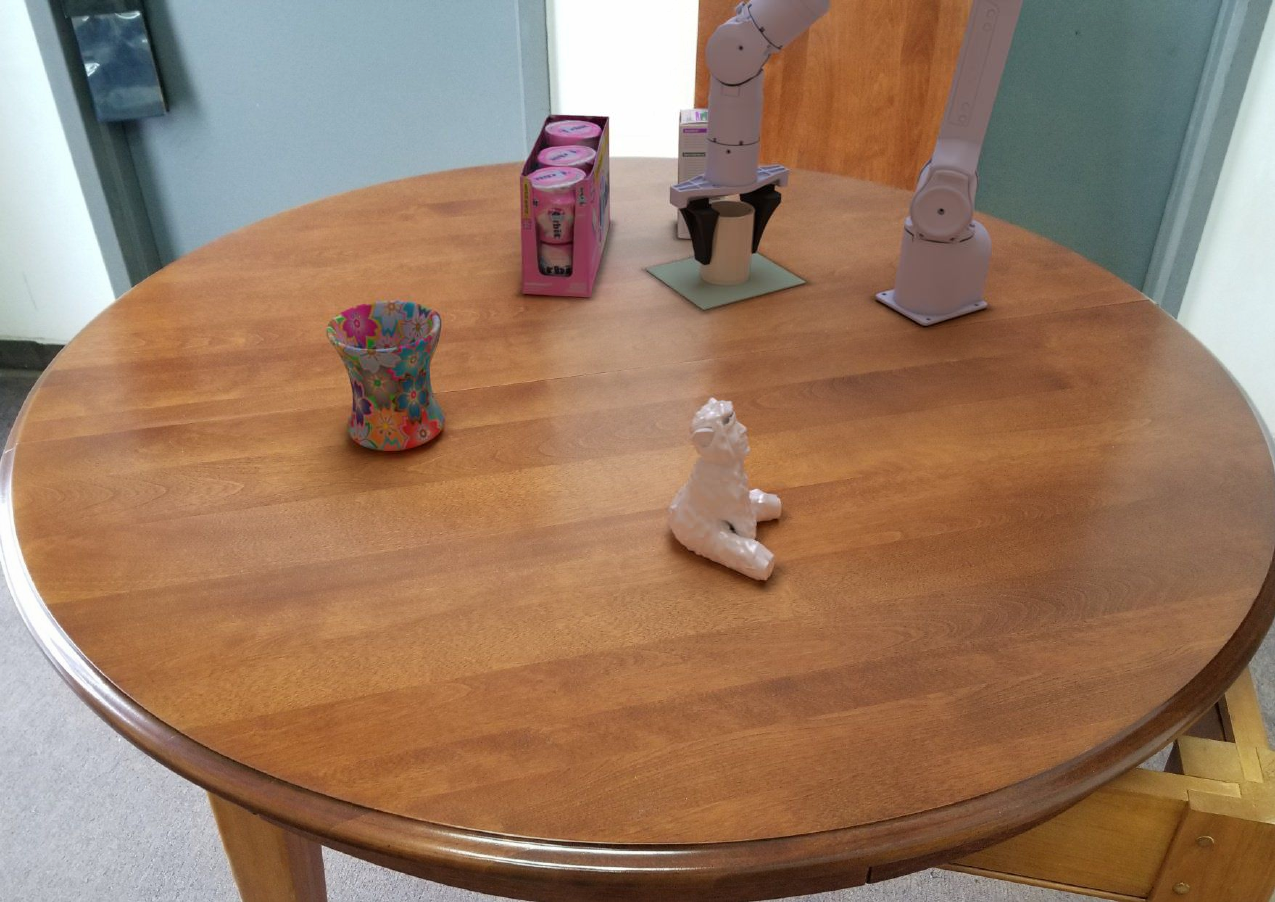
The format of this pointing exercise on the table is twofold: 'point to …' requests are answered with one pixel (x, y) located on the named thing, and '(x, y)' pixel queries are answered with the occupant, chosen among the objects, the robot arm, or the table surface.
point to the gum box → (565, 205)
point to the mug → (389, 372)
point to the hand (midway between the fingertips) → (725, 256)
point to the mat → (709, 296)
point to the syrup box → (691, 153)
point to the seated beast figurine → (723, 496)
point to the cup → (730, 244)
